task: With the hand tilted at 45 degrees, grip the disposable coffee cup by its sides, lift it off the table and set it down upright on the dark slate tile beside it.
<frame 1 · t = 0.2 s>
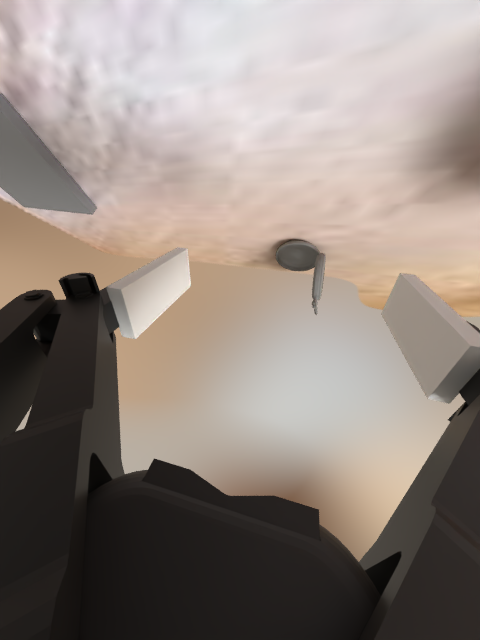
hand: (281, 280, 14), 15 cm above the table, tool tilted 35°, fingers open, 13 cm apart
slate tile: (18, 160, 31), on the table
pocket watch: (306, 253, 34), on the table
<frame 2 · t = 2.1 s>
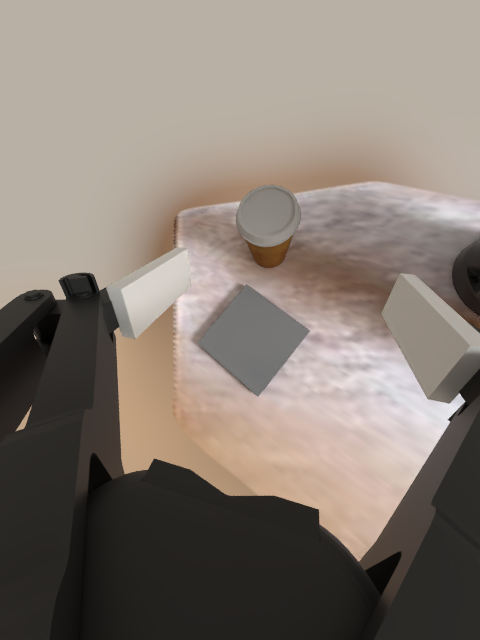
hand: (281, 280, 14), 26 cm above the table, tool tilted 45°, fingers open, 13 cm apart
disposable coffee cup: (269, 253, 43), on the table
slate tile: (252, 338, 40), on the table
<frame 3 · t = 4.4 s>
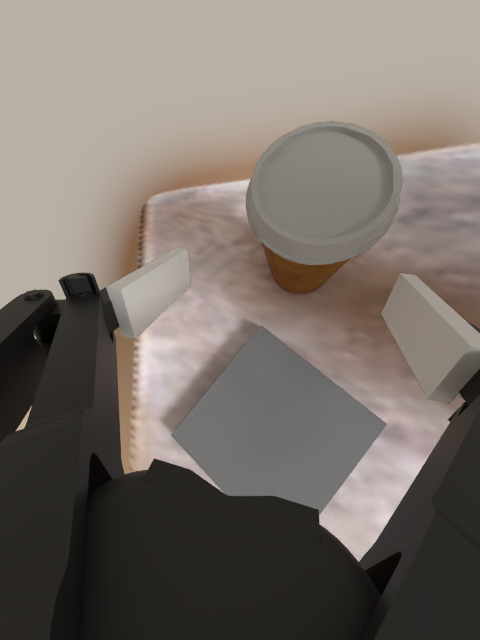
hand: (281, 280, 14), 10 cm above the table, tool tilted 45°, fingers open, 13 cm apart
disposable coffee cup: (299, 268, 25), on the table
slate tile: (272, 425, 22), on the table
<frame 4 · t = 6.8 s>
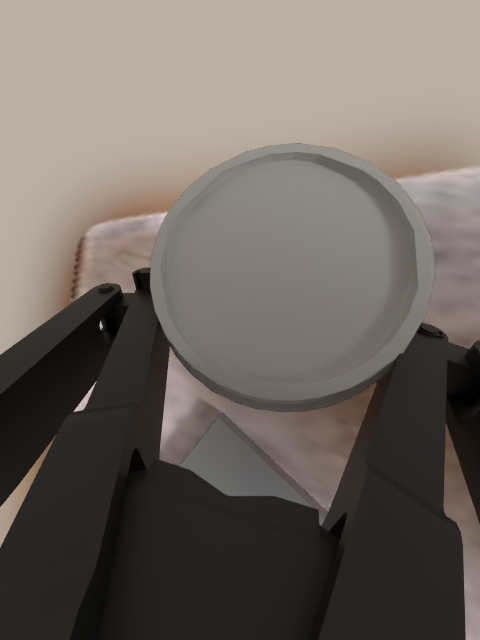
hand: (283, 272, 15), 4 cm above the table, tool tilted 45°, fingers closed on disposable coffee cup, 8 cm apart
disposable coffee cup: (275, 328, 19), on the table, touching gripper
slate tile: (233, 564, 15), on the table
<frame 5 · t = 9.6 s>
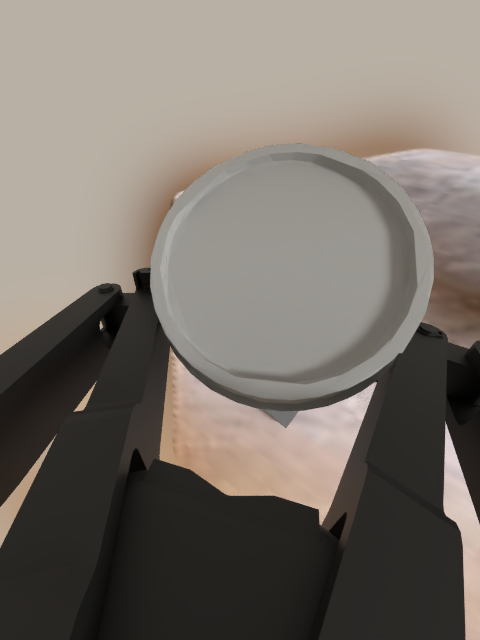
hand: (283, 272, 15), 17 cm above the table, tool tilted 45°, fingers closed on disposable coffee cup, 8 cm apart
disposable coffee cup: (274, 327, 19), point 13 cm above the table, touching gripper
when the fingers open (7 cm above the table, at t = 12.6 s): disposable coffee cup moves 4 cm, resting on slate tile.
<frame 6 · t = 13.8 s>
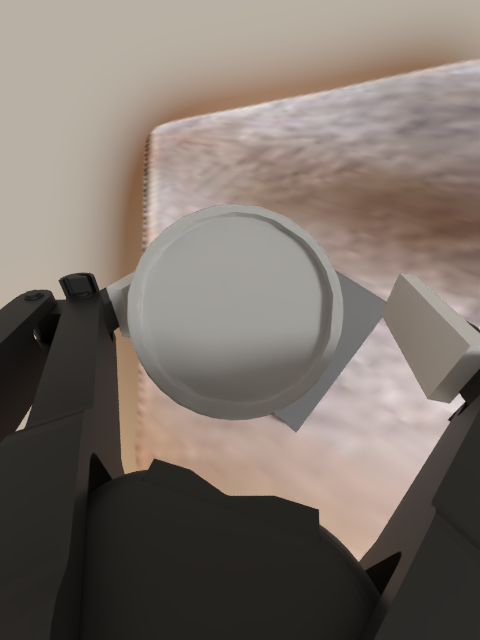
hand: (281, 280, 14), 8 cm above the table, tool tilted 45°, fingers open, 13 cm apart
disposable coffee cup: (235, 330, 21), point 2 cm above the table, touching slate tile
slate tile: (279, 322, 22), on the table
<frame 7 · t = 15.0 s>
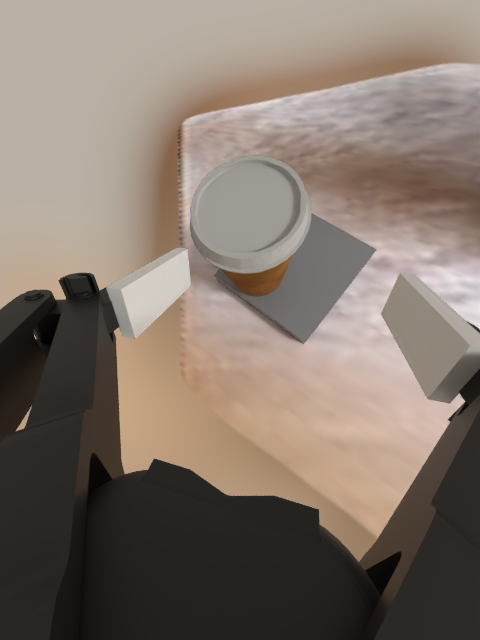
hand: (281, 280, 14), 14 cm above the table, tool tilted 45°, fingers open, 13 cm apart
disposable coffee cup: (257, 273, 28), point 1 cm above the table, touching slate tile
slate tile: (290, 268, 29), on the table
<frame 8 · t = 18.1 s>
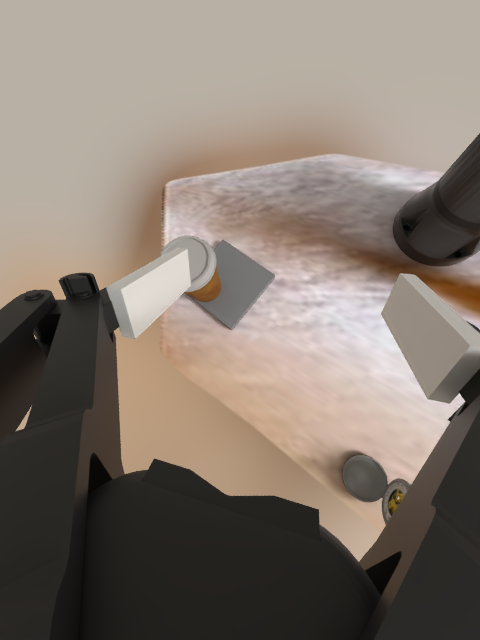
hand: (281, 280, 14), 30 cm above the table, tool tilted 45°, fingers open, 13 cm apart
disposable coffee cup: (206, 288, 46), point 1 cm above the table, touching slate tile
slate tile: (228, 284, 47), on the table
pocket watch: (368, 480, 36), on the table
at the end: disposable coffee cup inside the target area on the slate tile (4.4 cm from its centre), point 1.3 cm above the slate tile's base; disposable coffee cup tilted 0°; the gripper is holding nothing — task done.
